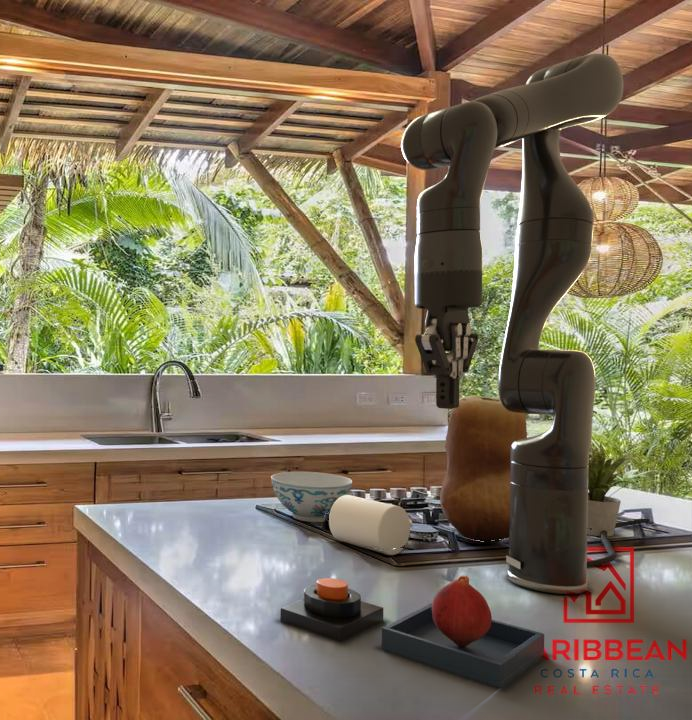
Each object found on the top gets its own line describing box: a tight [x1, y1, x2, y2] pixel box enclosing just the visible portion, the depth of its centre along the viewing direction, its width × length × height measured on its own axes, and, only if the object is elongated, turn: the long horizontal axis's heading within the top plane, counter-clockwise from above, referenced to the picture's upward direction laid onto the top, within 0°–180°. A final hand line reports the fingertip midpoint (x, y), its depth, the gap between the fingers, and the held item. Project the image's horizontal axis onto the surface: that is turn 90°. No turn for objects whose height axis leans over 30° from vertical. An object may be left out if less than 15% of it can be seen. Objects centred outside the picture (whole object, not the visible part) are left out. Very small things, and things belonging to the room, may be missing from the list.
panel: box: [280, 584, 384, 643], centre depth 90 cm, size 10×8×4 cm
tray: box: [381, 602, 545, 689], centre depth 81 cm, size 12×12×2 cm
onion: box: [431, 574, 493, 647], centre depth 81 cm, size 6×6×8 cm
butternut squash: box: [439, 395, 528, 544], centre depth 126 cm, size 14×13×25 cm
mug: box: [328, 494, 413, 556], centre depth 123 cm, size 12×10×8 cm
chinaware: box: [270, 471, 353, 523], centre depth 143 cm, size 15×15×8 cm
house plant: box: [587, 443, 648, 537], centre depth 130 cm, size 14×14×16 cm
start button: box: [316, 577, 349, 600], centre depth 90 cm, size 4×4×2 cm
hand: (447, 407), depth 92 cm, fingers closed
